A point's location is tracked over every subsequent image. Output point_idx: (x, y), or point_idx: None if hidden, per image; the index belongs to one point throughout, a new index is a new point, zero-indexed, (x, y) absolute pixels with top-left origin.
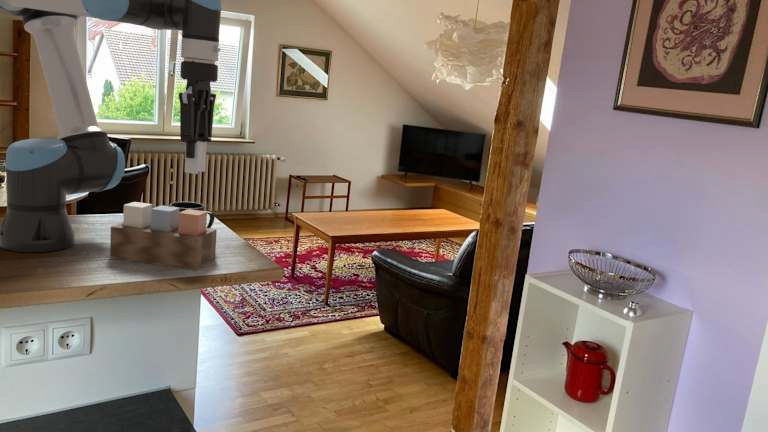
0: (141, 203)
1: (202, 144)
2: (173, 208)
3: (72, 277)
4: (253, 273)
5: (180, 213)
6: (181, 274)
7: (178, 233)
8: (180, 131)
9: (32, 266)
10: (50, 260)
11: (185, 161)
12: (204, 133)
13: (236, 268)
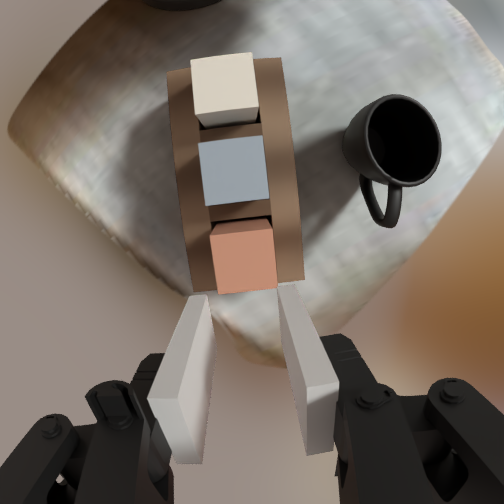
0: (244, 78)
1: (302, 430)
2: (247, 189)
3: (68, 131)
4: (247, 353)
5: (210, 239)
6: (168, 259)
7: (208, 229)
8: (11, 453)
9: (85, 51)
10: (120, 41)
11: (179, 323)
12: (339, 496)
13: (257, 320)
